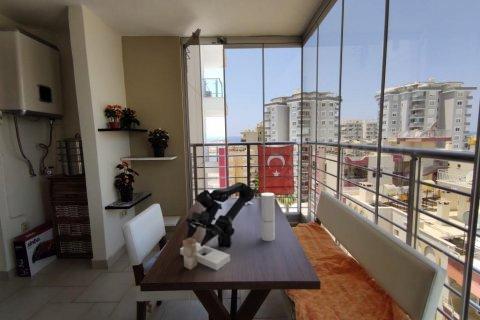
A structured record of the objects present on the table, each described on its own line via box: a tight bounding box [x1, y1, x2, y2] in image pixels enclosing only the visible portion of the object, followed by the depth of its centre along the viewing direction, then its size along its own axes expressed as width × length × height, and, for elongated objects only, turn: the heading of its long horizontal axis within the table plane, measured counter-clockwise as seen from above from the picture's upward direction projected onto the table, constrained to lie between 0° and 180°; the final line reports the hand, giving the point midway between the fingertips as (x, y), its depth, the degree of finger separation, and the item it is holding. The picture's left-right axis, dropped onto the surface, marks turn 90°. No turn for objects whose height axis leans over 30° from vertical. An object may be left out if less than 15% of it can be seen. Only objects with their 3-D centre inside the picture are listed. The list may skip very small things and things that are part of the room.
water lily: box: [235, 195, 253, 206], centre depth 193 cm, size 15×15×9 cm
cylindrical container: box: [260, 192, 276, 242], centre depth 127 cm, size 7×7×25 cm
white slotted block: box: [179, 241, 231, 271], centre depth 110 cm, size 9×24×3 cm, turn 53°
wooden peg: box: [182, 237, 198, 270], centre depth 103 cm, size 4×4×12 cm
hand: (193, 243), depth 104 cm, fingers open, 9 cm apart
